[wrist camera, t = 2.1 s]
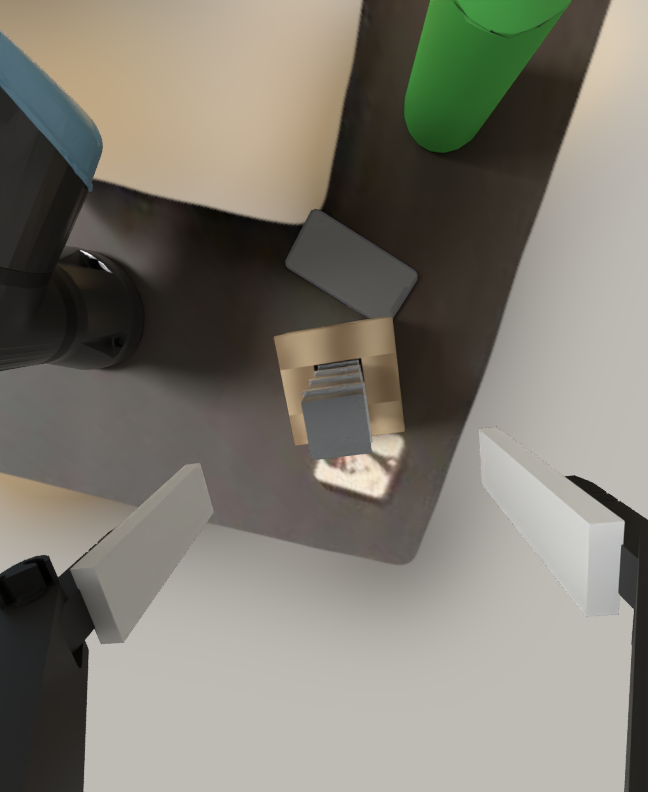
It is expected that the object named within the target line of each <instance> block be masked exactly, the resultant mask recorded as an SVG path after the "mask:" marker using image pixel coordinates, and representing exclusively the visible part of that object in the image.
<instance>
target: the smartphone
mask: <svg viewBox="0 0 648 792" xmlns="http://www.w3.org/2000/svg"><path fill="white" fill-rule="evenodd" d="M285 263H286V267H287V268H288V269H289V270H291V271H292V272H294V273H296V274H297V275H299V276H301V277H302V278H304V279H305V280H307V281H309V282H310V283H312V284H313V285H315V286H317V287H318V288H320V289H322V290H323V291H325V292H326V293H328V294H330V295H331V296H333V297H334V298H336V299H338V300H339V301H341V302H343V303H344V304H346V305H347V306H349V307H350V308H352V309H354V310H355V311H357V312H359V313H360V314H362V315H364V316H365V317H367V318H368V319H373V318H379V317H392V319H393V318H394V316H395V315H396V313H397V311H398V310H399V308H400V307H401V305H402V304H403V302H404V300H405V299H406V297H407V296H408V294H409V293H410V291H411V289H412V288H413V286H414V285H415V283H416V282H417V280H418V278H417V273H416V271H415V270H414V269H412V268H411V267H409V266H408V265H406V264H404V263H403V262H401V261H400V260H398V259H397V258H395V257H393V256H392V255H390V254H389V253H387V252H386V251H384V250H382V249H381V248H379V247H378V246H376V245H374V244H373V243H371V242H370V241H368V240H366V239H365V238H363V237H362V236H360V235H358V234H357V233H355V232H354V231H352V230H351V229H349V228H347V227H346V226H344V225H343V224H341V223H339V222H338V221H336V220H335V219H333V218H332V217H330V216H328V215H327V214H325V213H324V212H322V211H320V210H318V209H314V210H311V212H310V214H309V216H308V218H307V220H306V222H305V223H304V225H303V227H302V229H301V231H300V233H299V235H298V237H297V239H296V241H295V243H294V245H293V247H292V249H291V251H290V253H289V255H288V257H287V259H286V261H285Z"/></svg>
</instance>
